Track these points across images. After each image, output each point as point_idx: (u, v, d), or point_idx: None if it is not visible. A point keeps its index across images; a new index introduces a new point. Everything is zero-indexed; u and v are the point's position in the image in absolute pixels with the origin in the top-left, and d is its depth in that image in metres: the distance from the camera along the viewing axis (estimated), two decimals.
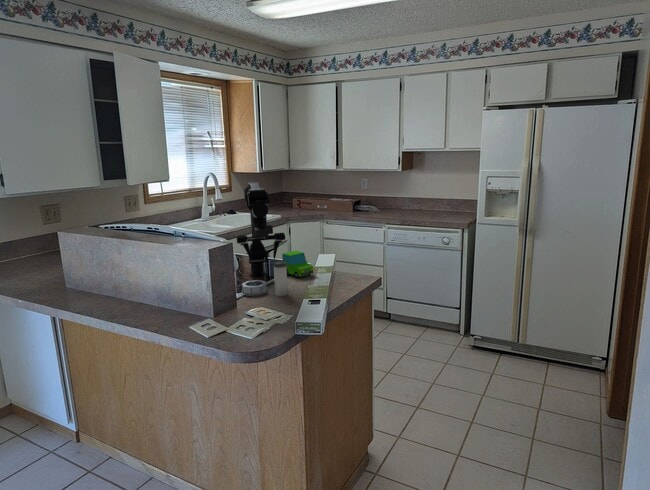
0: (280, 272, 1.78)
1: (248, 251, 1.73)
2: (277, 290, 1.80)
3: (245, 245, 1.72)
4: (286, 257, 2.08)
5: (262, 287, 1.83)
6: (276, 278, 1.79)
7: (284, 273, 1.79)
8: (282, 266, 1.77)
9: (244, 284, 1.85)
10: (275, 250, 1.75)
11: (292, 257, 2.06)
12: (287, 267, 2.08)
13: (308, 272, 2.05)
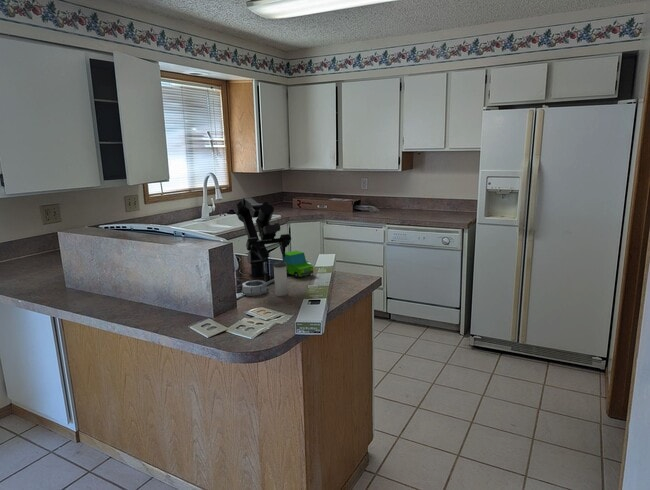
0: (280, 272, 1.78)
1: (259, 251, 1.85)
2: (277, 290, 1.80)
3: (256, 245, 1.85)
4: (286, 257, 2.08)
5: (262, 287, 1.83)
6: (276, 278, 1.79)
7: (284, 273, 1.79)
8: (282, 266, 1.77)
9: (244, 284, 1.85)
10: (284, 249, 1.89)
11: (292, 257, 2.06)
12: (287, 267, 2.08)
13: (308, 272, 2.05)
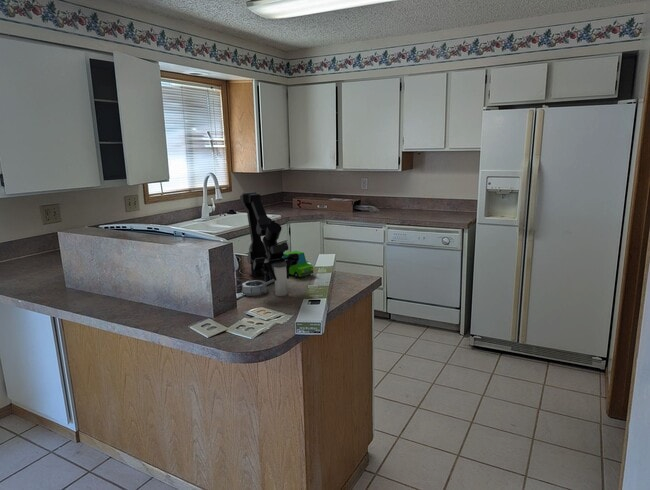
0: (280, 272, 1.78)
1: (271, 270, 1.79)
2: (277, 290, 1.80)
3: (268, 264, 1.79)
4: (286, 257, 2.08)
5: (262, 287, 1.83)
6: (276, 278, 1.79)
7: (284, 273, 1.79)
8: (282, 266, 1.77)
9: (244, 284, 1.85)
10: (287, 269, 1.82)
11: None
12: None
13: (308, 272, 2.05)
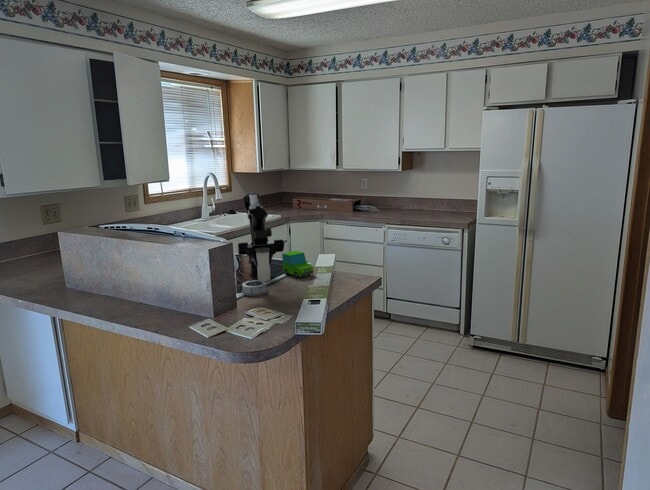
0: (261, 257, 1.78)
1: (254, 255, 1.80)
2: (259, 275, 1.81)
3: (251, 249, 1.80)
4: (286, 257, 2.08)
5: (262, 287, 1.83)
6: (258, 263, 1.80)
7: (265, 259, 1.79)
8: (263, 252, 1.78)
9: (244, 284, 1.85)
10: (270, 255, 1.82)
11: (292, 257, 2.06)
12: (287, 267, 2.08)
13: (308, 272, 2.05)
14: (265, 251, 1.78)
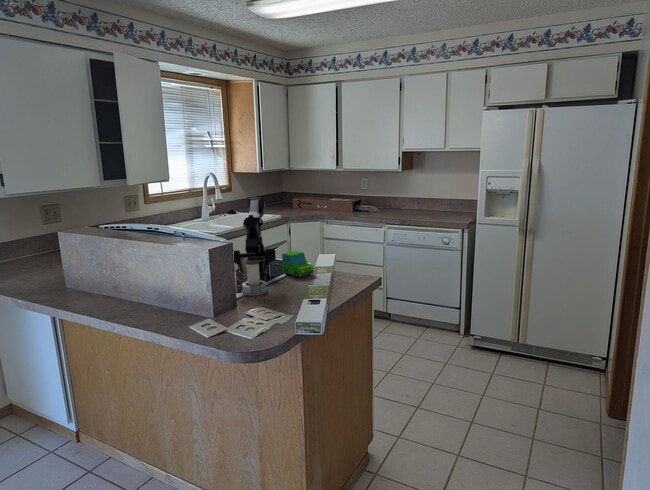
0: (250, 269, 1.81)
1: (239, 264, 1.84)
2: None
3: (237, 257, 1.84)
4: (285, 257, 2.08)
5: (262, 287, 1.83)
6: (247, 274, 1.83)
7: (255, 270, 1.82)
8: (252, 263, 1.81)
9: (244, 284, 1.85)
10: (265, 263, 1.84)
11: (292, 257, 2.06)
12: (287, 267, 2.08)
13: (308, 272, 2.05)
14: (254, 263, 1.81)
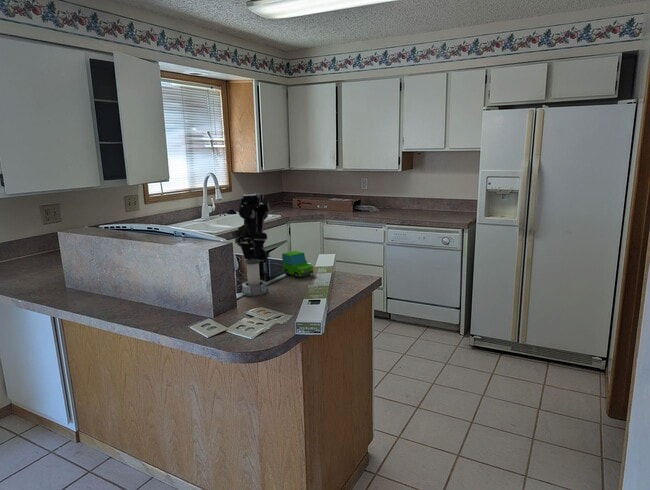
0: (250, 269, 1.82)
1: (242, 250, 1.98)
2: None
3: (239, 245, 1.98)
4: (285, 257, 2.08)
5: (262, 287, 1.83)
6: (247, 274, 1.83)
7: (255, 270, 1.82)
8: (252, 263, 1.81)
9: (244, 284, 1.85)
10: (254, 249, 1.89)
11: (292, 257, 2.06)
12: (287, 267, 2.08)
13: (308, 272, 2.05)
14: (254, 263, 1.81)
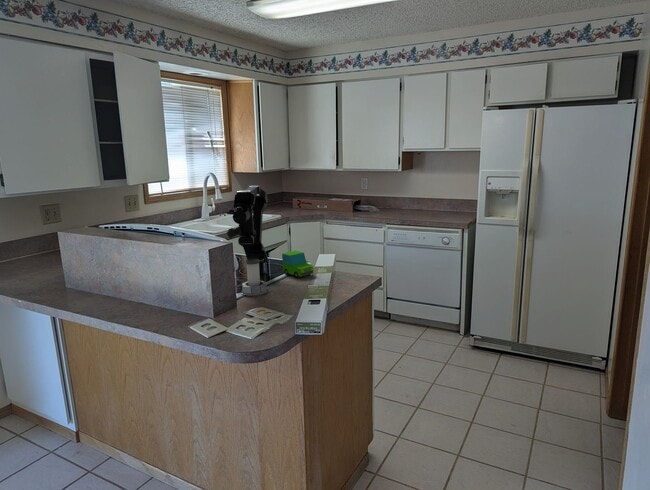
0: (250, 269, 1.82)
1: None
2: None
3: None
4: (285, 257, 2.08)
5: (262, 287, 1.83)
6: (247, 274, 1.83)
7: (255, 270, 1.82)
8: (252, 263, 1.81)
9: (244, 284, 1.85)
10: (244, 250, 1.88)
11: (292, 257, 2.06)
12: (287, 267, 2.08)
13: (308, 272, 2.05)
14: (254, 263, 1.81)
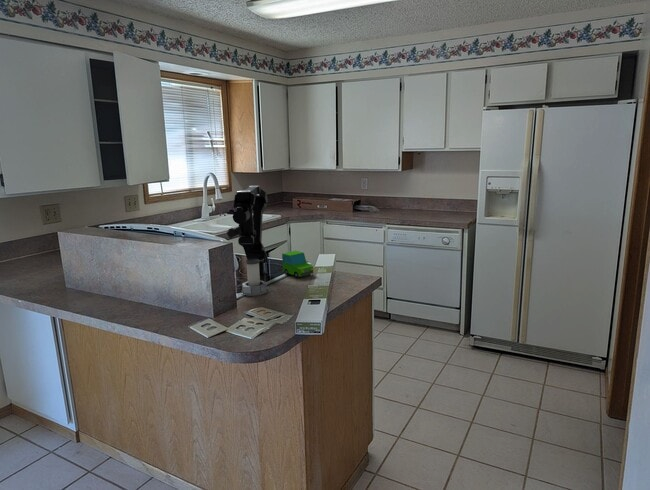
0: (250, 269, 1.82)
1: None
2: None
3: None
4: (285, 257, 2.08)
5: (262, 287, 1.83)
6: (247, 274, 1.83)
7: (255, 270, 1.82)
8: (252, 263, 1.81)
9: (244, 284, 1.85)
10: (244, 250, 1.88)
11: (292, 257, 2.06)
12: (287, 267, 2.08)
13: (308, 272, 2.05)
14: (254, 263, 1.81)
